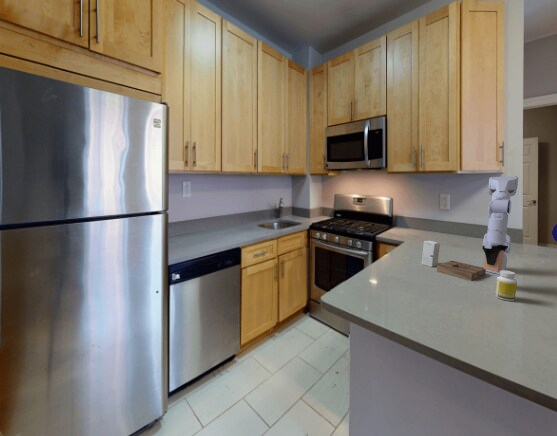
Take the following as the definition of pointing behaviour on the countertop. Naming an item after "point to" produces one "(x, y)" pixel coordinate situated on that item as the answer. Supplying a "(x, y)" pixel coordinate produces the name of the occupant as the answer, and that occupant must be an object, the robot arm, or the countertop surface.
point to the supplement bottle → (506, 286)
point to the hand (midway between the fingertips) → (493, 263)
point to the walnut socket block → (461, 270)
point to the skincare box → (430, 253)
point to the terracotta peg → (498, 263)
